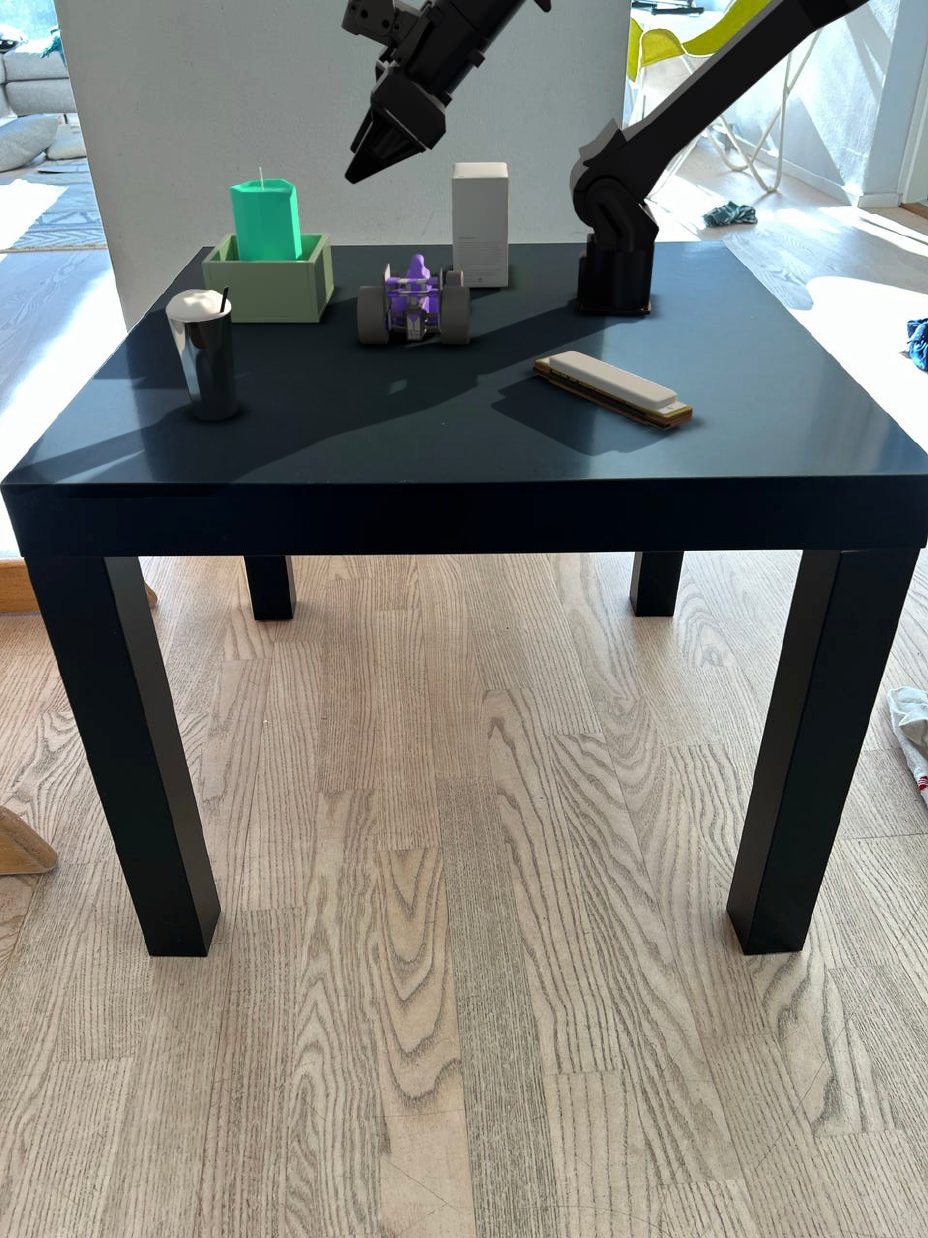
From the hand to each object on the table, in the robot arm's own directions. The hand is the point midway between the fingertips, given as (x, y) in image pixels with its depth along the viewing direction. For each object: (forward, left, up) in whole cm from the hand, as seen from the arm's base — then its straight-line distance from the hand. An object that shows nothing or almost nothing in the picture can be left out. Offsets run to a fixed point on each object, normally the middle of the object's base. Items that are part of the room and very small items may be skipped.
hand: (351, 165), depth 90 cm
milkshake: (+5, +27, -13) cm, 30 cm away
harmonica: (-24, +21, -13) cm, 34 cm away
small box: (-11, -10, -13) cm, 19 cm away
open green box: (+8, +1, -13) cm, 15 cm away
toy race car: (-7, +5, -13) cm, 15 cm away
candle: (+8, +1, -12) cm, 15 cm away
